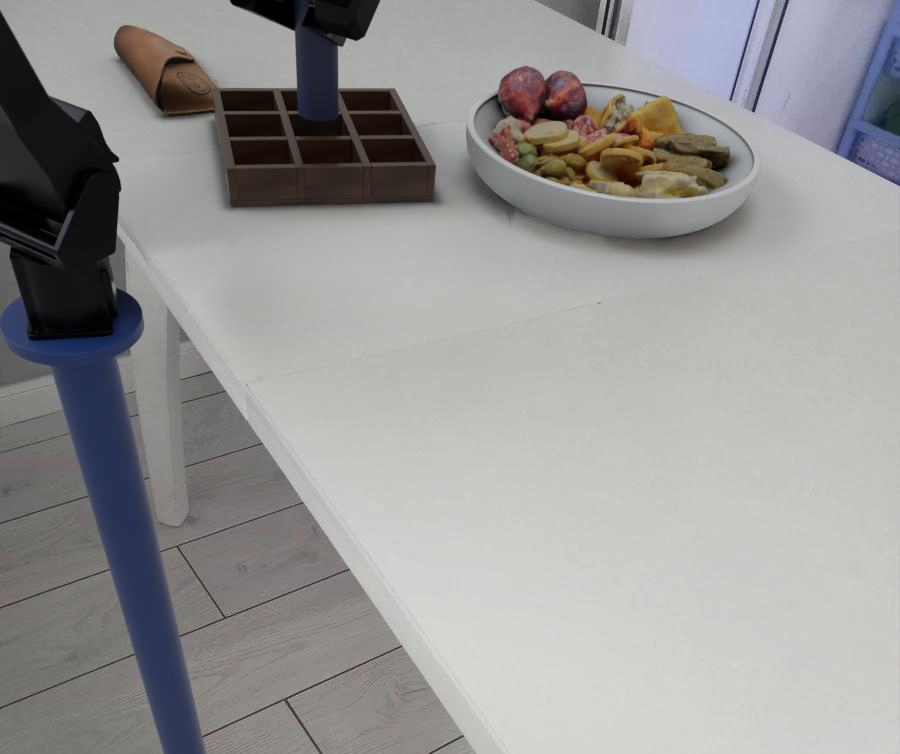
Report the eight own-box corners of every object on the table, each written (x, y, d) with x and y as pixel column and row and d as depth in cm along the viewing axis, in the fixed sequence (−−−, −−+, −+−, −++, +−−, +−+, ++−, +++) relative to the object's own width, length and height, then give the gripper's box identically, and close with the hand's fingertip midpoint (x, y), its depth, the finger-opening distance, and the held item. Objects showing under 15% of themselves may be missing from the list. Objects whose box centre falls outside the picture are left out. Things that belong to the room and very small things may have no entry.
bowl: (792, 192, 97) (820, 115, 91) (652, 287, 80) (676, 200, 74) (566, 106, 108) (579, 33, 102) (403, 174, 91) (407, 91, 85)
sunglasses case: (234, 104, 98) (197, 48, 93) (184, 144, 99) (145, 91, 93) (184, 49, 108) (148, -4, 103) (140, 86, 109) (101, 35, 103)
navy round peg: (329, 124, 87) (327, -34, 77) (291, 116, 87) (284, -42, 78) (344, 111, 90) (343, -44, 80) (307, 103, 90) (302, -52, 80)
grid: (230, 206, 84) (226, 168, 81) (215, 122, 96) (211, 87, 93) (433, 201, 88) (436, 164, 85) (393, 121, 100) (395, 88, 98)
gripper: (380, -172, 66) (444, -24, 81) (188, -214, 71) (281, -68, 86) (318, -27, 67) (393, 93, 82) (134, -80, 73) (235, 42, 87)
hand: (325, 36), depth 84 cm, fingers closed on navy round peg, 4 cm apart
